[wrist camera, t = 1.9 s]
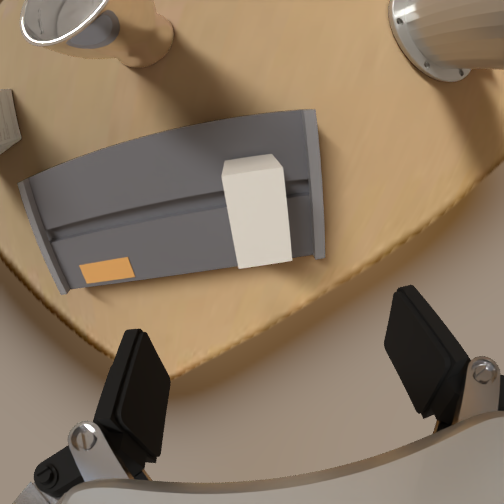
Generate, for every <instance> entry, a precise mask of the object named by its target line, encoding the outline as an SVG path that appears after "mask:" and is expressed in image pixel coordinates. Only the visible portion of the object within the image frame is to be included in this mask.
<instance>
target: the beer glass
mask: <svg viewBox="0 0 504 504" xmlns="http://www.w3.org/2000/svg"><path fill="white" fill-rule="evenodd" d="M20 29H21V33H22V35H23V37H24V38H25V40H26V41H27V42H29V43H30V44H32V45H35V46H40V47H44V48H46V49H49V50H52V51H55V52H58V53H61V54H65V55H68V56H72V57H78V58H84V59H110V58H117V59H118V60H119V61H120V62H121V63H123V64H124V65H126V66H129V67H133V68H142V67H147V66H150V65H152V64H154V63H156V62H158V61H159V60H160V59H162V58H163V57H164V56H165V55H166V53H167V52H168V51H169V49H170V47H171V45H172V43H173V39H174V30H173V27H172V25H171V23H170V22H169V20H168V19H166V18H165V17H164V16H162V15H160V14H157V11H156V7H155V3H154V0H25V1H24V4H23V7H22V10H21V15H20Z"/></svg>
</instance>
